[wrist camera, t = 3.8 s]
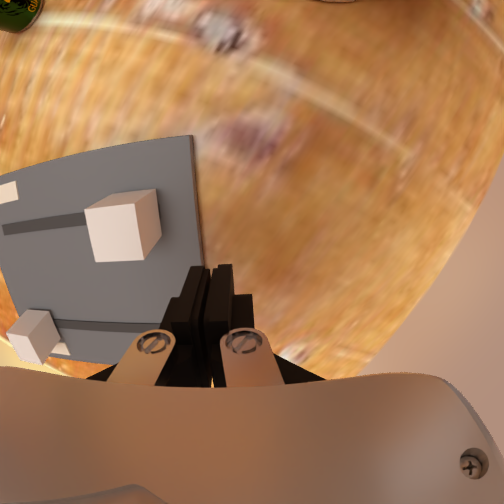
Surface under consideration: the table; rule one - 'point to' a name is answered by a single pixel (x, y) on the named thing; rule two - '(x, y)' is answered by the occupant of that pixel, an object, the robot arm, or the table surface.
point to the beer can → (18, 14)
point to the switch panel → (80, 249)
